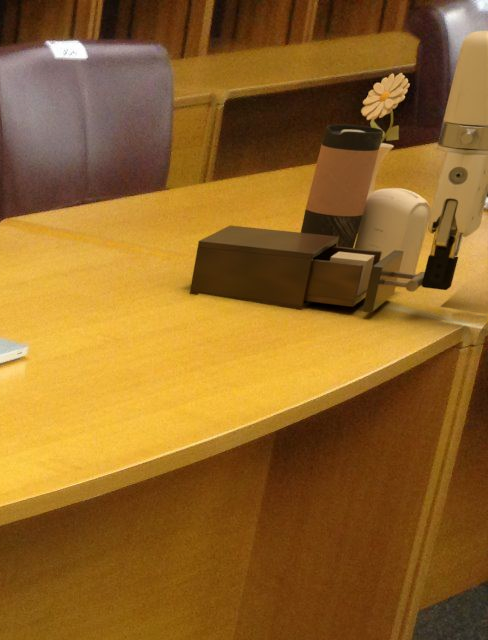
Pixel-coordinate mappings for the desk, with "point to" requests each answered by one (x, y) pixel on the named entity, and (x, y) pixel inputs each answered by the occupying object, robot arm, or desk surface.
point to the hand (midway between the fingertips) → (435, 287)
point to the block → (357, 259)
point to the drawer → (357, 279)
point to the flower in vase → (384, 113)
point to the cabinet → (258, 265)
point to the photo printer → (395, 225)
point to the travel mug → (342, 182)
